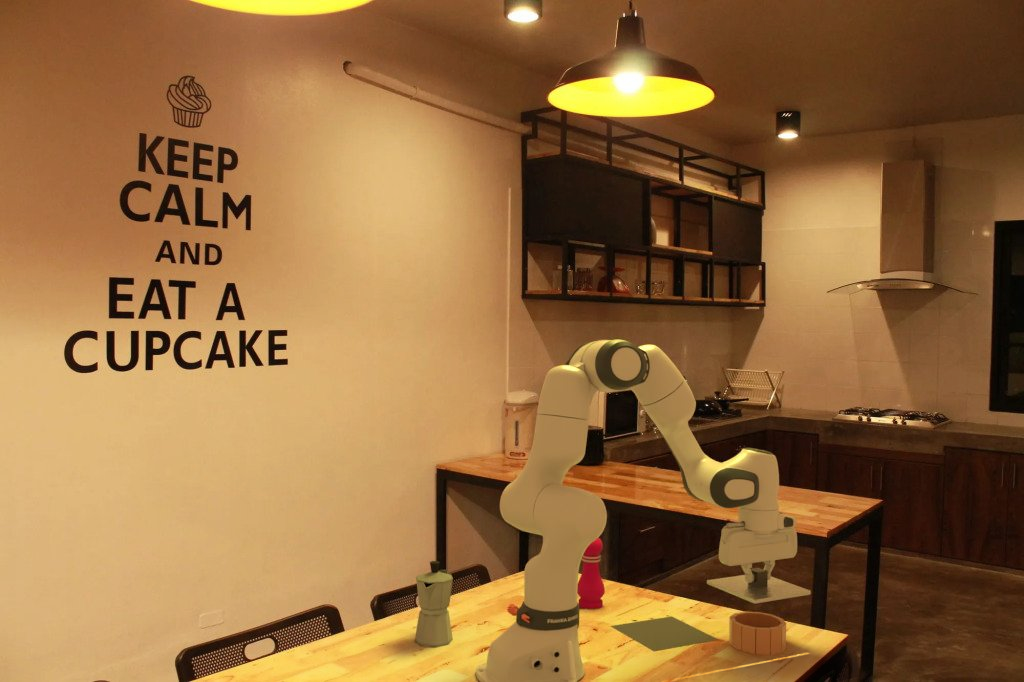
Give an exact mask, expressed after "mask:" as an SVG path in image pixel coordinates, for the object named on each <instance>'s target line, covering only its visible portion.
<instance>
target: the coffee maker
mask: <svg viewBox="0 0 1024 682" xmlns="http://www.w3.org/2000/svg"><path fill="white" fill-rule="evenodd" d="M429 565H430V571H429V572H424V573H421V574H418V575H416V576H415V578H416V579H415V580H416V586H417V587H416V588H417V597H418V605H419V608H420V610H419V613H418V616H417V617H418V619H417V623H416V630H415V637H414V643H415V644H418V645H419V646H421V647H428V648H431V647H432V648H439V647H442V646H448V645H450V643H451V642H452V641H453V632H452V625H451V620H450V619H451V618H450V611H449V610H448V607H450V603H451V602H450V601H451V596H452V588H453V580H454V578H453V576H452V574H450V573H448V570H447V569H440V561H437V560H431V561H430V562H429ZM439 569H440V570H439Z"/></svg>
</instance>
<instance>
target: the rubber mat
mask: <svg viewBox="0 0 1024 682" xmlns="http://www.w3.org/2000/svg"><path fill="white" fill-rule="evenodd" d="M610 627H611V628H613V629H615V631H618V632H620V633H621V634H623V635H625V636H627V637H628V638H630V639H632V640H633V641H635V642H637V643H639V644H641V645H642V646H644V647H646V648H647V649H649V650H651V651H653V652H658V651H663V650H669V649H675V648H681V647H686V646H691V645H693V646H694V645H697V644H702V643H709V642H714V641H719V639H718V638H717V637H715V636H713V635H711V634H708V633H707V632H705V631H703V630H700V629H699V628H696V627H694V626H692V625H690V624H688V623H686V622H685V621H682V620H680V619H678V618H676V617H674V616H671V615H670V616H666V617H660V618H659V617H658V618H654V619H647V620H640V621H634V622H628V623H620V624H614V625H610Z"/></svg>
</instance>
